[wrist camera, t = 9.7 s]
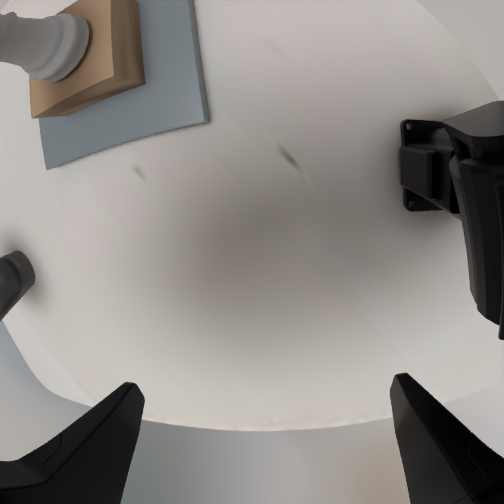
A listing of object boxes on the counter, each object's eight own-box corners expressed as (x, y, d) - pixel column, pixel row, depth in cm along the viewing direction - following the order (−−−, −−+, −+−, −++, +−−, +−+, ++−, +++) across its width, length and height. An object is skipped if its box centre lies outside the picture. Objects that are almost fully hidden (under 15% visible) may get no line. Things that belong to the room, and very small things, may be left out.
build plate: (189, -35, 12) (183, -44, 10) (210, 122, 17) (204, 121, 16) (47, 31, 13) (37, 28, 12) (57, 166, 19) (46, 170, 18)
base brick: (138, 2, 12) (110, -18, 8) (145, 84, 15) (113, 75, 11) (63, 40, 13) (30, 33, 9) (67, 115, 16) (31, 118, 12)
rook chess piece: (40, 41, 10) (-52, 33, 3) (91, 5, 9) (-3, -30, 2) (44, 95, 11) (-59, 104, 4) (97, 60, 11) (-17, 41, 3)
